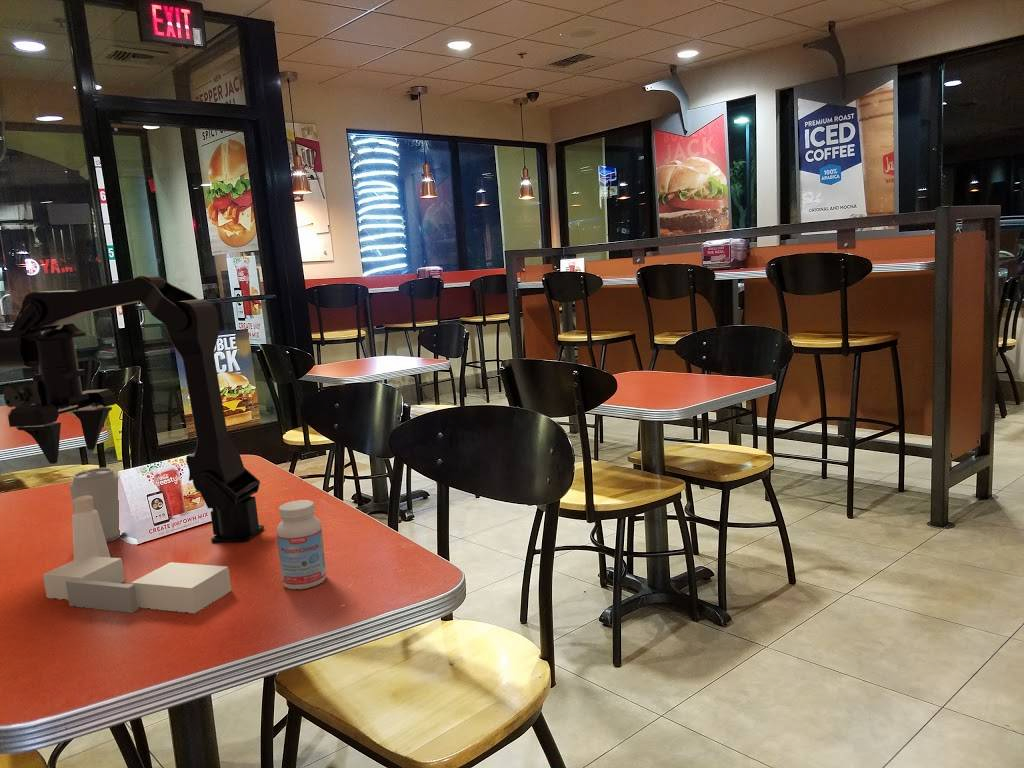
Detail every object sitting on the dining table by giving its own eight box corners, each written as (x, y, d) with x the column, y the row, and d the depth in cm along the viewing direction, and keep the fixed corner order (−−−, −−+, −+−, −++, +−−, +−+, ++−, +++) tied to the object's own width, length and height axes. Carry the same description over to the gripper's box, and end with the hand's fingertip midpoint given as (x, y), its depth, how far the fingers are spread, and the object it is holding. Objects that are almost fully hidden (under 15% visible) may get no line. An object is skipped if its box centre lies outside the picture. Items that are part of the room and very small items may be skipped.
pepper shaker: (68, 574, 115) (56, 504, 114) (80, 561, 121) (69, 494, 119) (106, 569, 116) (95, 500, 115) (117, 556, 122) (106, 490, 120)
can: (91, 549, 126) (79, 479, 124) (71, 541, 131) (59, 474, 129) (135, 534, 132) (125, 468, 130) (115, 528, 137) (104, 463, 135)
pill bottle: (282, 594, 103) (272, 514, 101) (283, 577, 108) (274, 501, 107) (328, 586, 104) (319, 507, 102) (326, 570, 110) (318, 495, 108)
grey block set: (231, 590, 105) (228, 566, 104) (186, 618, 97) (183, 593, 96) (88, 577, 113) (85, 555, 113) (37, 602, 106) (33, 578, 105)
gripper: (55, 361, 137) (69, 444, 140) (-31, 376, 119) (-14, 472, 122) (111, 358, 136) (124, 442, 138) (33, 373, 118) (49, 471, 120)
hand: (73, 456), depth 130 cm, fingers open, 9 cm apart
